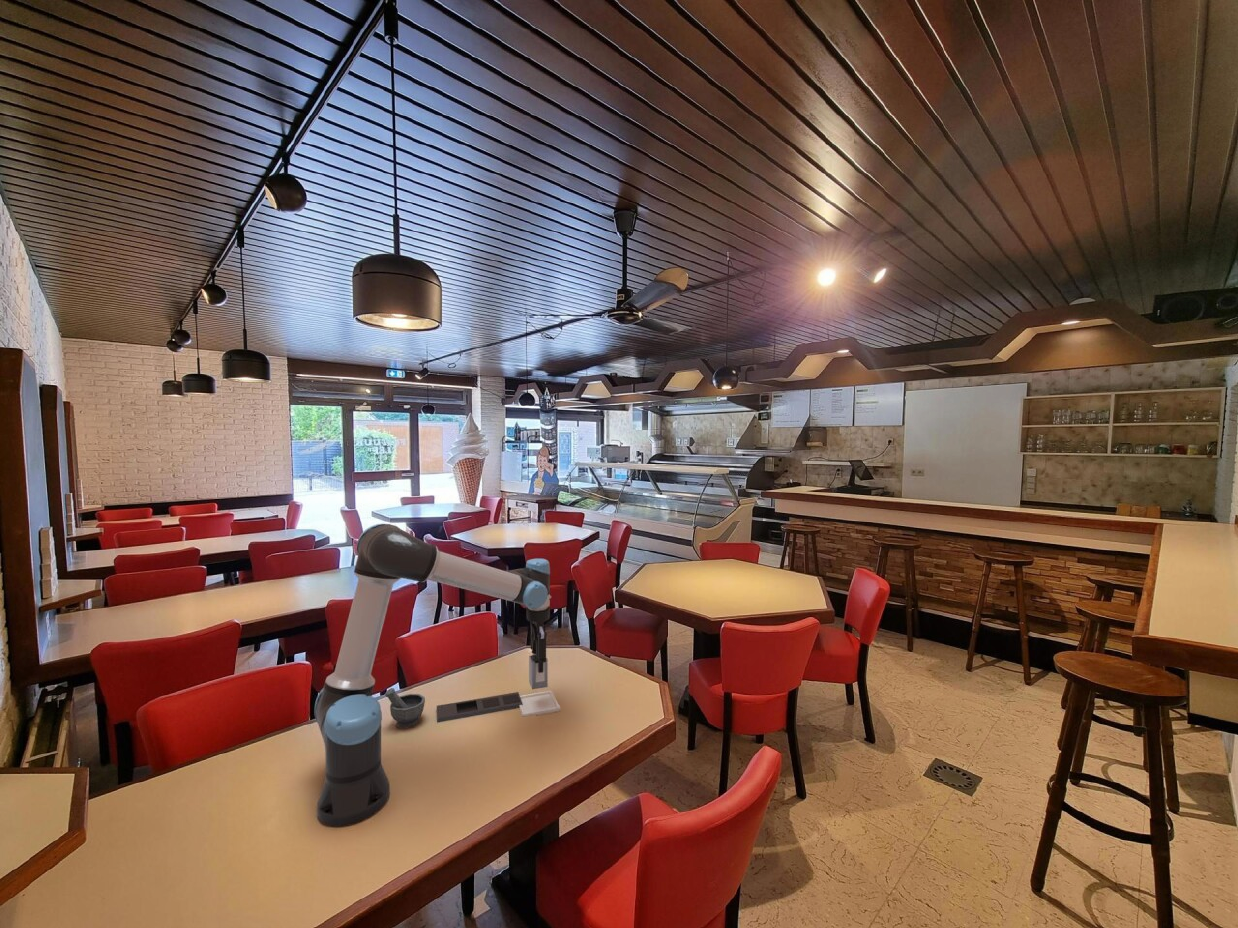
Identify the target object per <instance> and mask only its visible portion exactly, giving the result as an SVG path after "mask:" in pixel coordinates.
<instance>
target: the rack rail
mask: <svg viewBox="0 0 1238 928" xmlns="http://www.w3.org/2000/svg"><path fill="white" fill-rule="evenodd" d="M520 696H521V695H520V694H519V691H516V692H509V693H503V694H498V695H491V696H486V697H480V698H474V699H468V700H464V701H463V700H462V701H457V702H456V701H455V702H452V703H451V702H450V703H445V704H439V705H436V723H443V722H447V721H453V720H458V719H465V718H470V717H476V716H481V715H486V714H493V713H497V712H504V711H508V710H514V709H520V708H519V705H522V706H523V703H522V701H521V698H520Z"/></svg>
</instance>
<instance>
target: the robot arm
mask: <svg viewBox="0 0 1238 928" xmlns="http://www.w3.org/2000/svg"><path fill="white" fill-rule="evenodd" d="M356 552H357V553H356V554H357V558H356V562H355V567H354V570H353V574H354V575H355V576H356V578H357V580H358V581H357V583H356V588H355V592H354V596H353V599H352V603H351V607H350V610H349V615H348V618H347V622H346V626H345V630H344V634H343V638H342V641H341V646H340V649H339V654H338V657H337V661H336V665H335V668H334V672H332V673H331V674H329V675H328V676H326V677H325V678H326V679H325V681H324V685H323V688H322V689H321V690H320V691H319V693H318V695H317V696H316V700H315V703H314V717H315V720H316V723H317V725H318V727H319V731H320V734H321V737H322V740H323V743H324V747H325V748H324V750H325V752H324V753H325V754H324V755H325V779H324V782H323V784H322V785H323V786H322V787H321V790H320V791H321V792H320V794H319V797H318V799H317V803H316V812H317V813H316V816H317V820H319V822H320V823H321V824H323V825H326V826H327V827H328V826H329V827H346V826H351V825H355V824H358V823H361V822H363V821H364V820H367V819H369V818H371V817H372V816H374V815H375V814H377V813H378V812H379V811H380V810H382V809H383V808H384V806H385V805H386V803H387V802H388V800H389V798H390V792H391V791H390V789H391V788H390V781H389V778H388V776H387V774H386V771H385V769H384V766H383V763H382V720H383V714H382V709H381V708H382V707H381V704H380V701H379V700H378V699H376V698H375V697H374V696H373V692H374V687H375V685H376V679H375V678H374V677H373V675H372V671H373V666H374V663H375V658H376V655H377V651H378V646H379V642H380V638H381V634H382V632H383V631H382V630H383V628H384V623H385V619H386V615H387V611H388V606H389V604H390V599H391V595H392V591H393V588H394V587H393V586H394V585H395V583H397V582H398V581H400V580H401V579H406V580H411V581H416V582H420V583H425V582H426V581H431V582H435V583H440V584H442V585H443V584H444V585H447V586H451V587H455V588H459V589H461V590H467V591H470V592H475V593H477V594H482V595H485V596H490V597H493V598H498V599H501V600H505V601H508V602H512V603H516V604H519V605H523V606H524V607H526V620H527V621H528V622H530V650H531V653H532V654H531V655H536V657H537V660H536V661H534V662H535V663H536V682H542V681H545V662H546V658H547V635H548V634H547V631H546V625H545V624H544V623H545V622H546V621H548V620H549V619H550V617H551V614H550V613H551V607H550V603H551V600H550V599H552V595H551V594H550V591H551V589H550V588H551V587H550V586H551V585H550V584H551V583H550V582H551V577H550V576H551V566H550V562H549V560H547V559H545V558H532V559H528V560H526V562H525V563H526V564H525V567H523V568H522V567H521V568H517V569H510V570H502V569H499V568H496V567H492V566H489V565H487V564H483V563H479V562H476V561H473V560H470V559H467V558H463V557H460V556H456V555H454V554H453V555H452V554H451V553H446V552H444V551H441V550H439V549H438V546H437V545H434V544H431V543H429V542H425V541H423V540H422V539H419V538H418V537H416V536H414V535H412V534H410V533H409V532H408V531H405V530H403V529H401V528H400V527H399V526H397V525H394V524H390V523H376V524H373V525H371V526H369V527H368V528H366V529H365V530H363V532H362V533H361V534H360V535H359V537H358V539H357V543H356Z"/></svg>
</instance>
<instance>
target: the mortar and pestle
mask: <svg viewBox="0 0 1238 928" xmlns="http://www.w3.org/2000/svg"><path fill="white" fill-rule="evenodd" d="M384 696H385V697H387V699H388V700H389V701H390V705H389V711H390V717H392V719H393V720H394V721H396V722H397V723H396V728H400V729H408V728H411V727H414V726H415V725H417V724H418V723H419V719H420V717H421V716H422V715H423V711H424V707H425V702H426V697H425V695H424V696H423V695H422V694H419V693H408V694H403V695H399V694H398V693H397V692H396V690H395V688H393V687H391V688H389V689H388V690H386V692H385V693H384Z"/></svg>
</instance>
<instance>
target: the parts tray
mask: <svg viewBox="0 0 1238 928" xmlns="http://www.w3.org/2000/svg"><path fill="white" fill-rule="evenodd" d="M520 698H521V701H522V703H523V706H522V705H519V708H518V709H519V711H520V713H521V717H522V718H526V717H530V716H536V717H537V716H542V715H545V714H546V715H548V714H552V713H553V714H554V713H557V712H561V706H560V704H559V702H558V701H557V698H556V696H555V695H554V692H553V690H546V691H539V692H534V693H528V694H523V695H520Z"/></svg>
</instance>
